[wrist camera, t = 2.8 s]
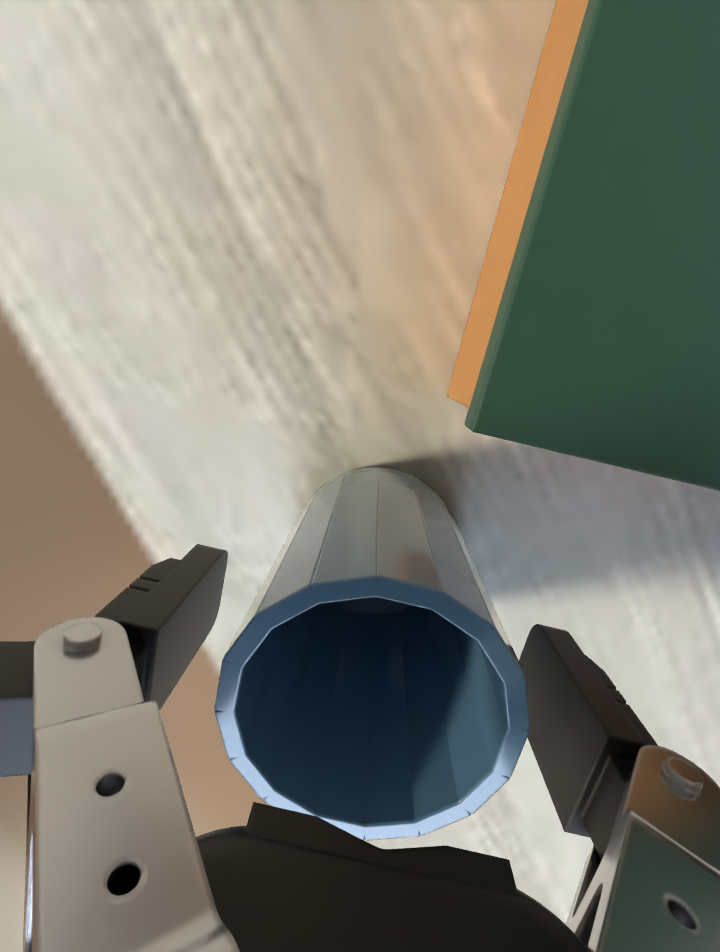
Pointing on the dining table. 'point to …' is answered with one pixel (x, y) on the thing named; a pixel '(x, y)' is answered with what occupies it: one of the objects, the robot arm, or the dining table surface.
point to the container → (609, 249)
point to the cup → (374, 667)
